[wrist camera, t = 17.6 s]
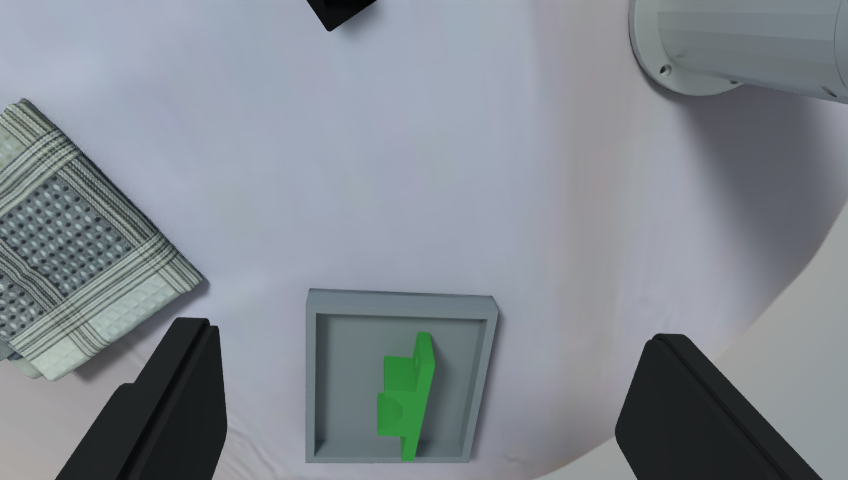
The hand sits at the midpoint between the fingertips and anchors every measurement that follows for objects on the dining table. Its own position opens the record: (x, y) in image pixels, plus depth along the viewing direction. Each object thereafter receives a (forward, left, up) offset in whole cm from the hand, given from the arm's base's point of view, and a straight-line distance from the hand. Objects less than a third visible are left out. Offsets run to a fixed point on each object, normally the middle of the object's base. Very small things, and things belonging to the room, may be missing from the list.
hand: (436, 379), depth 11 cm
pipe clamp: (-3, +24, -28) cm, 37 cm away
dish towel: (+27, +13, -29) cm, 42 cm away
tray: (-2, +24, -28) cm, 37 cm away
